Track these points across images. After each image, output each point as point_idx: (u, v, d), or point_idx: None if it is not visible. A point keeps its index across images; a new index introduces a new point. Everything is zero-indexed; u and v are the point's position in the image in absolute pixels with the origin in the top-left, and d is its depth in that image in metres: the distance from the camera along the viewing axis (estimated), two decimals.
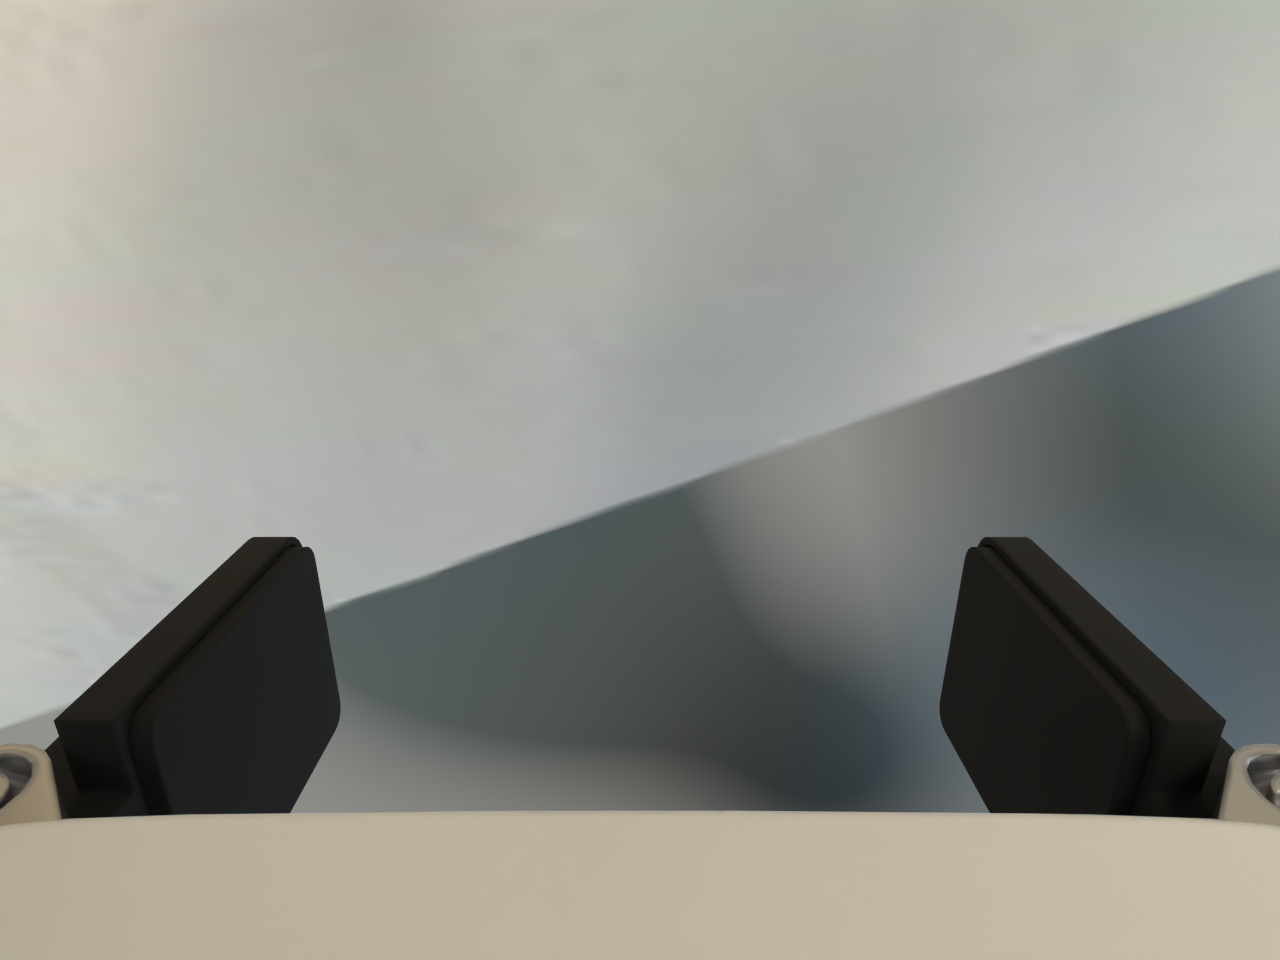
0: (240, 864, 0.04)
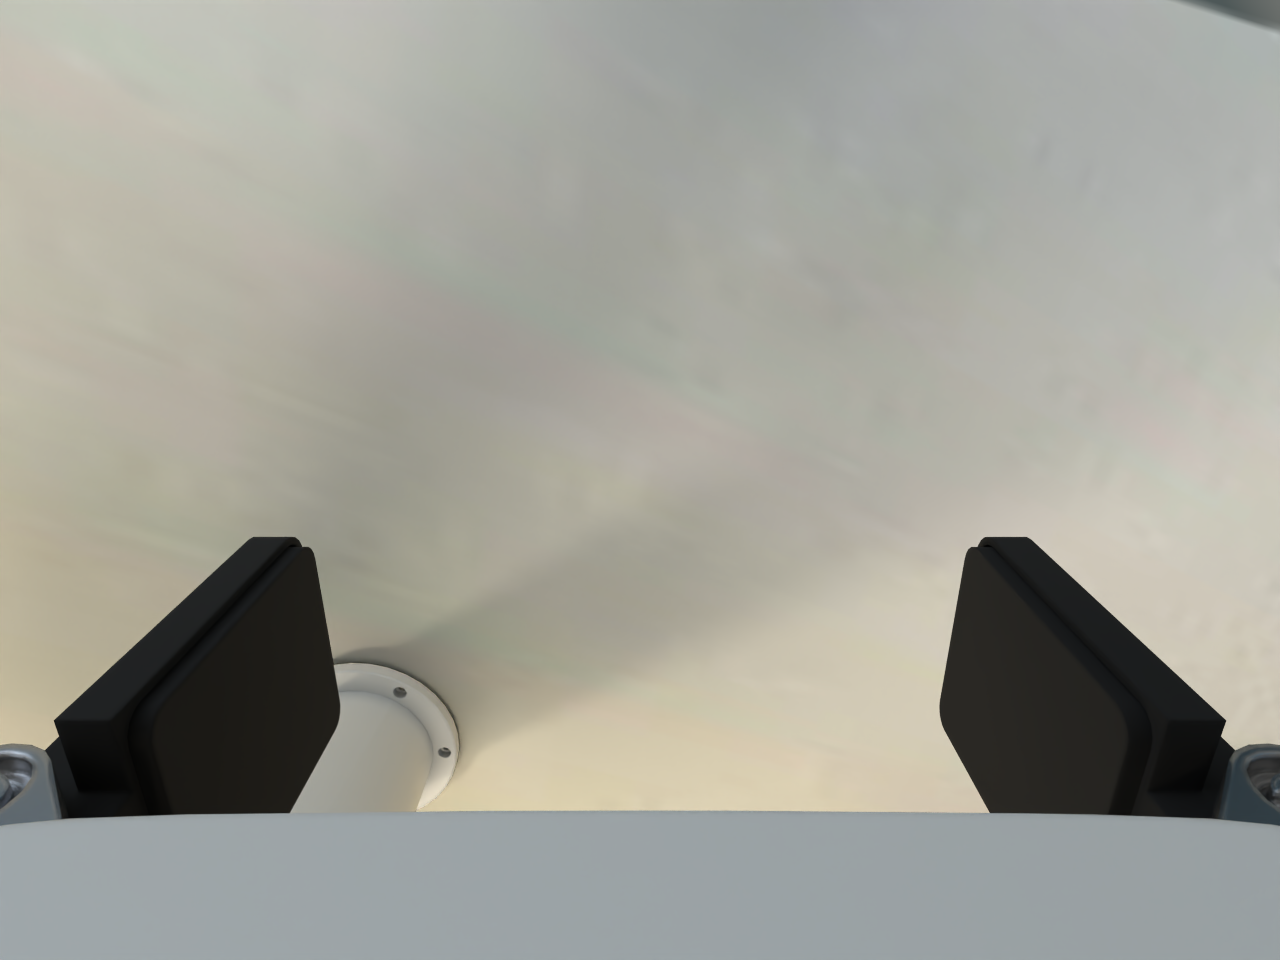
0: (240, 864, 0.04)
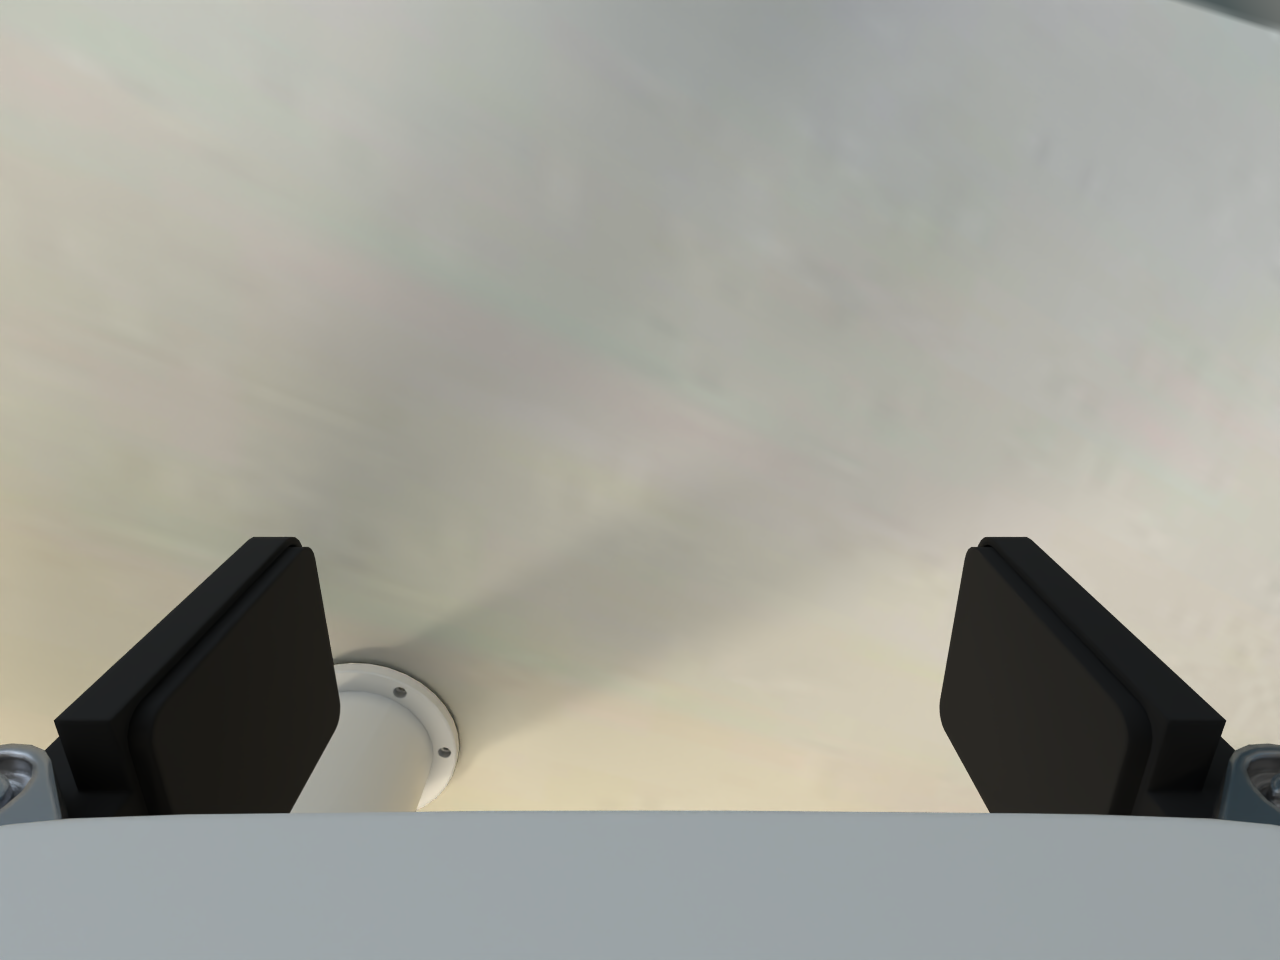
0: (240, 864, 0.04)
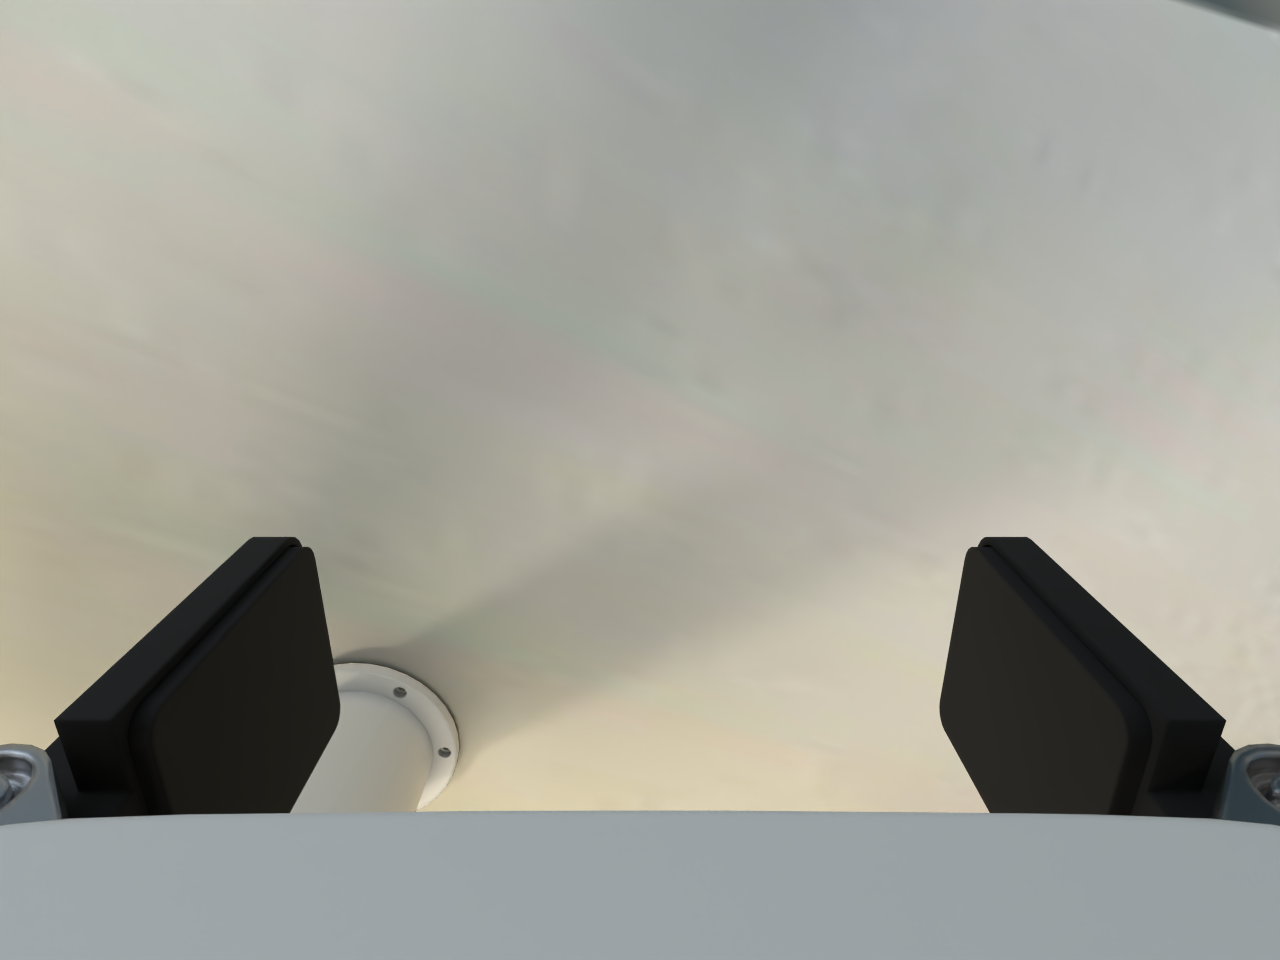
0: (240, 864, 0.04)
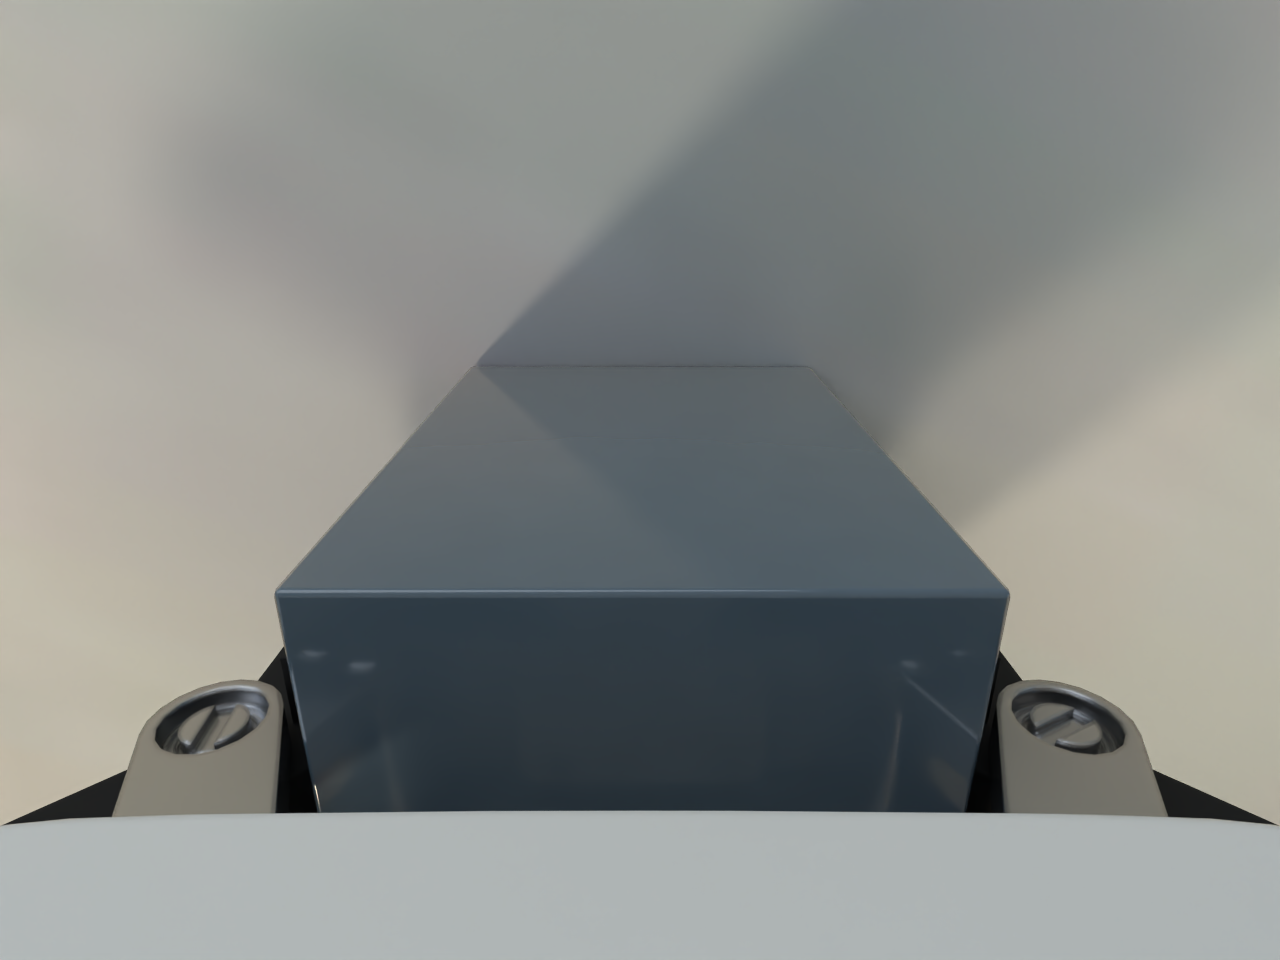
0: (240, 864, 0.04)
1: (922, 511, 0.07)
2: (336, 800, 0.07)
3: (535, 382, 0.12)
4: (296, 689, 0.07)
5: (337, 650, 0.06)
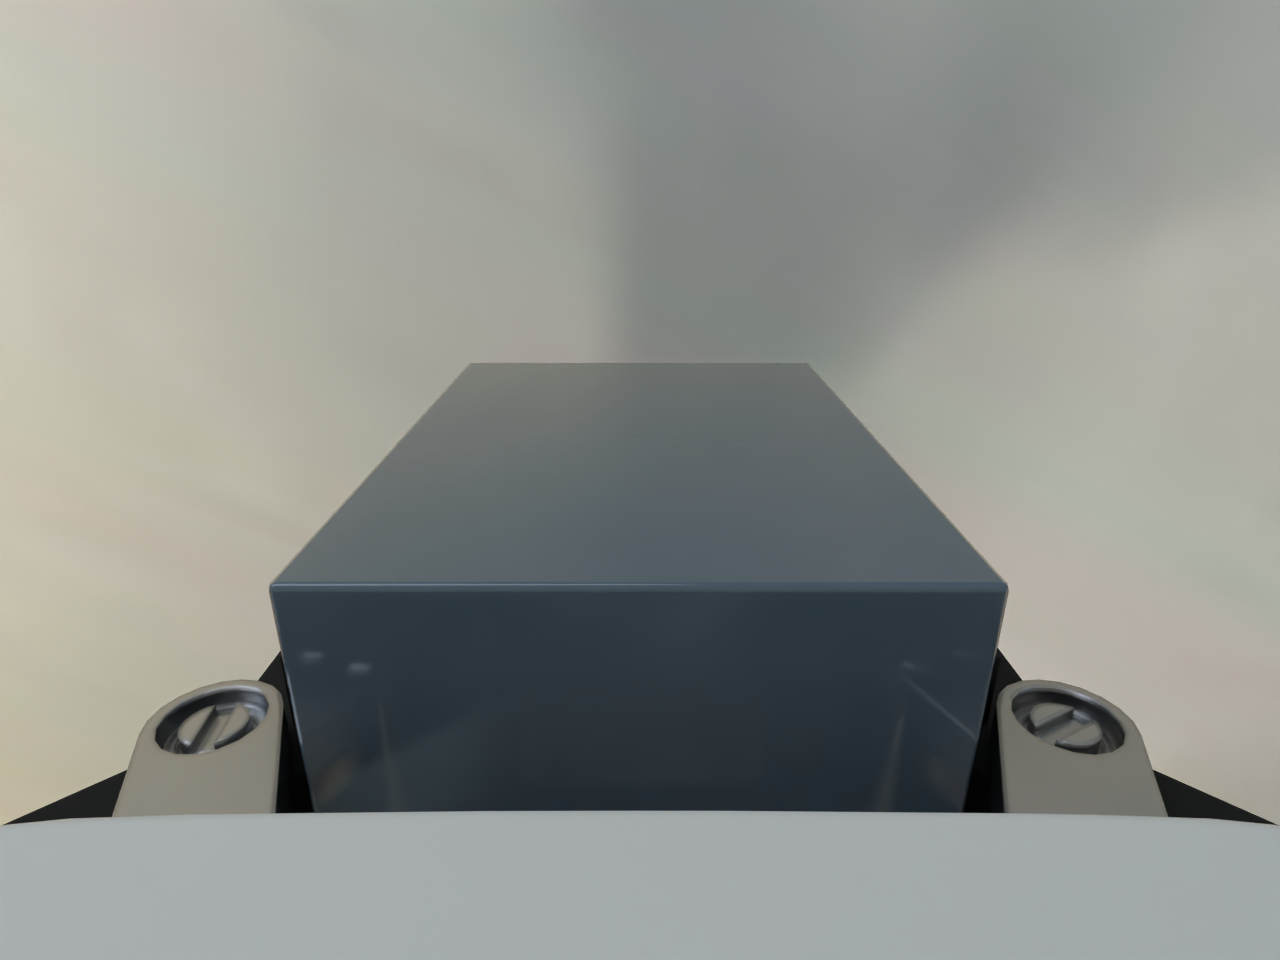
0: (240, 864, 0.04)
1: (920, 506, 0.07)
2: (332, 796, 0.07)
3: (533, 378, 0.12)
4: (292, 684, 0.06)
5: (332, 644, 0.06)
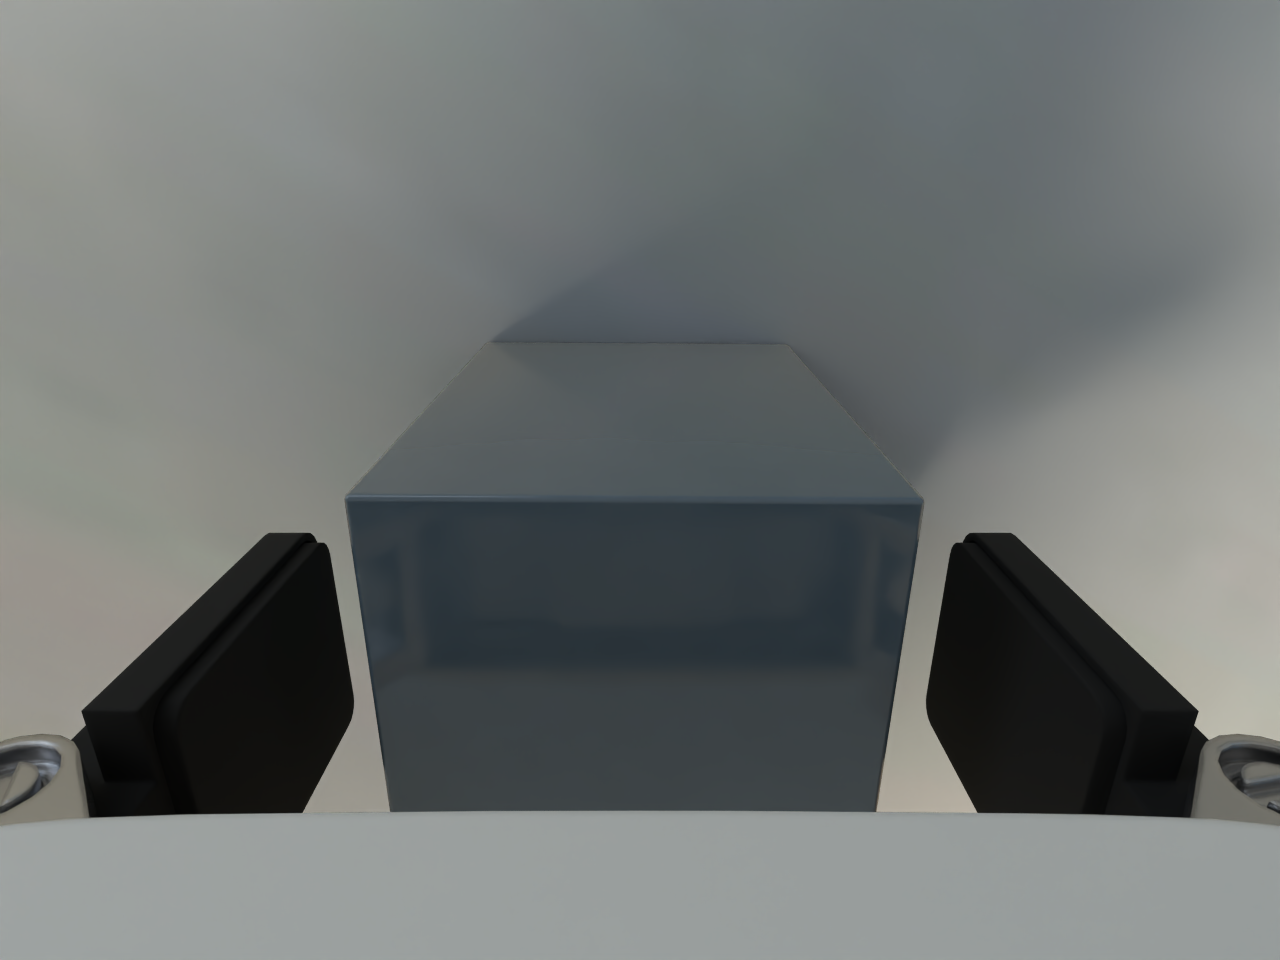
0: (240, 865, 0.04)
1: (865, 448, 0.09)
2: (387, 673, 0.08)
3: (544, 354, 0.14)
4: (359, 579, 0.08)
5: (393, 545, 0.08)
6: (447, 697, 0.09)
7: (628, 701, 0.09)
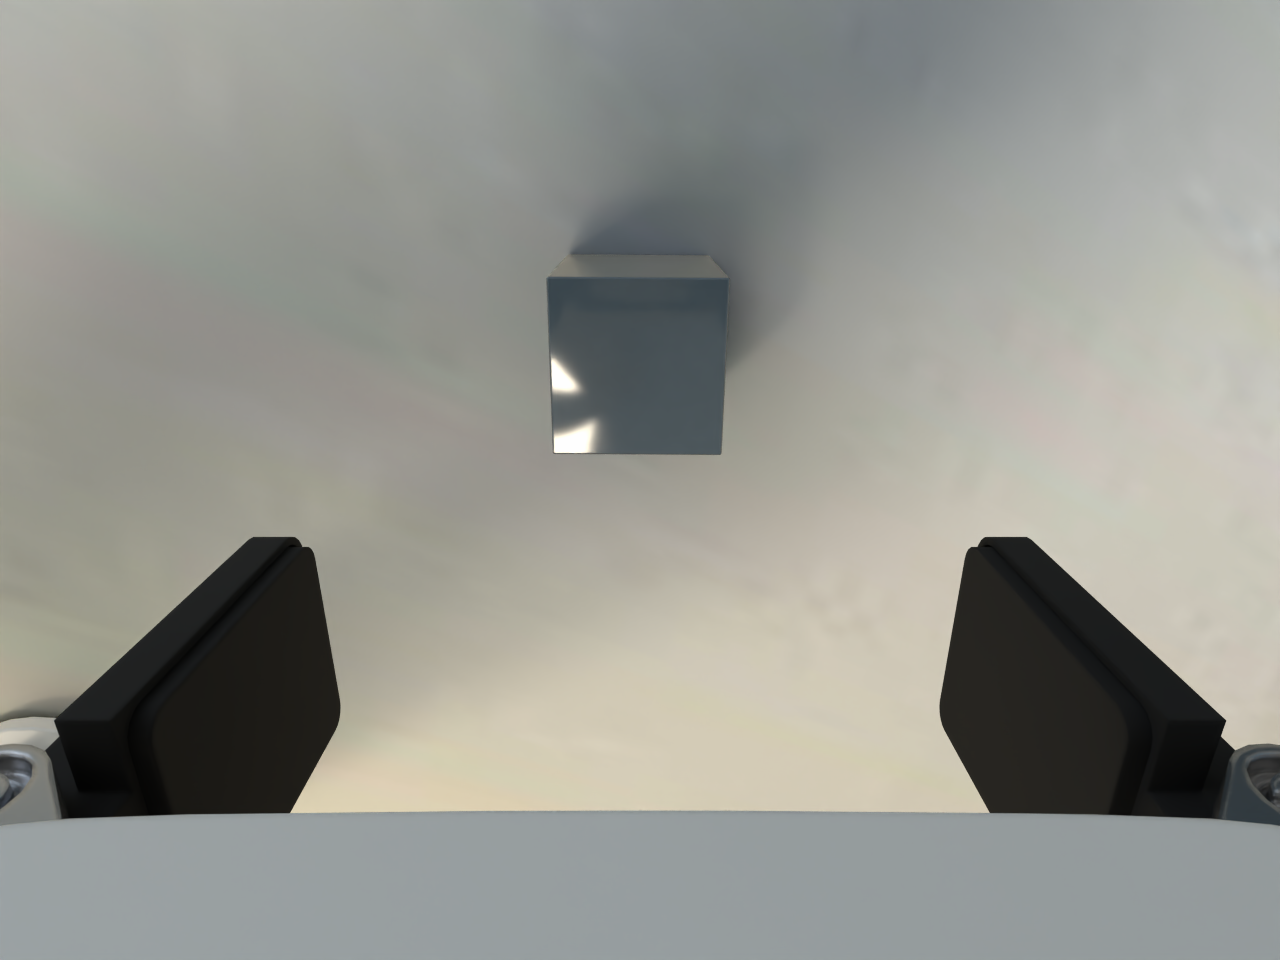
0: (240, 864, 0.04)
1: (718, 272, 0.26)
2: (555, 343, 0.25)
3: (596, 257, 0.30)
4: None
5: (561, 294, 0.25)
6: (575, 352, 0.25)
7: (636, 354, 0.25)
